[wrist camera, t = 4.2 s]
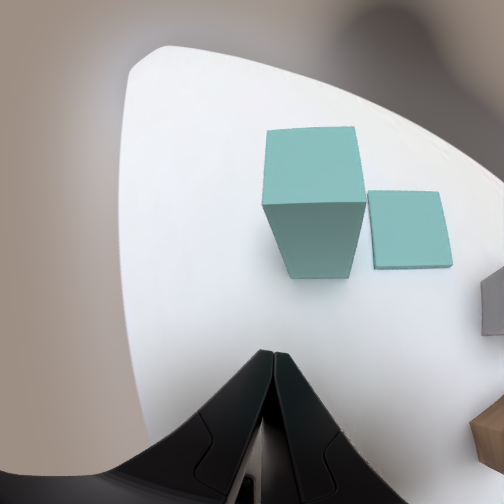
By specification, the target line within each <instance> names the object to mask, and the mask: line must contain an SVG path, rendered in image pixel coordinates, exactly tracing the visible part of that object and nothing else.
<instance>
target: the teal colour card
mask: <svg viewBox="0 0 504 504" xmlns="http://www.w3.org/2000/svg"><path fill="white" fill-rule="evenodd" d="M368 202H369V210H370V219H371V229H372V240H373V252H374V267H375V269H407V268H444V267H451V266H452V265H453V261H452V254H451V248H450V242H449V237H448V231H447V226H446V221H445V217H444V212H443V208H442V203H441V199H440V195H439V192H431V191H368Z"/></svg>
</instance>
